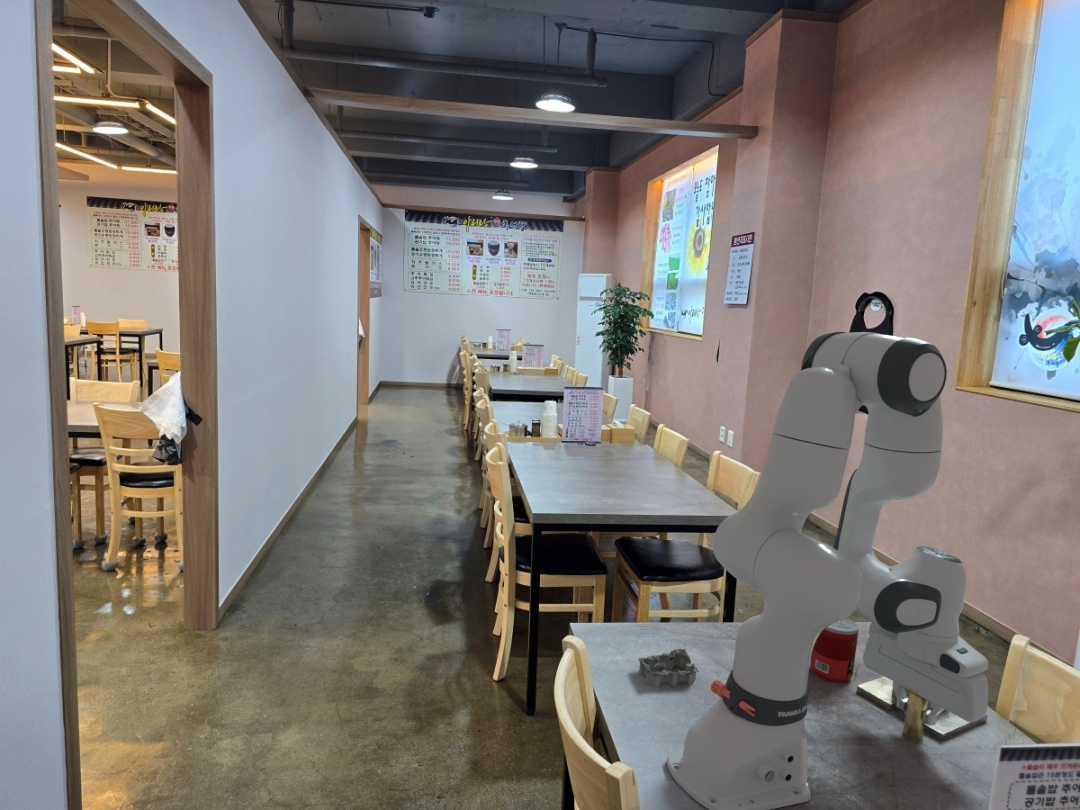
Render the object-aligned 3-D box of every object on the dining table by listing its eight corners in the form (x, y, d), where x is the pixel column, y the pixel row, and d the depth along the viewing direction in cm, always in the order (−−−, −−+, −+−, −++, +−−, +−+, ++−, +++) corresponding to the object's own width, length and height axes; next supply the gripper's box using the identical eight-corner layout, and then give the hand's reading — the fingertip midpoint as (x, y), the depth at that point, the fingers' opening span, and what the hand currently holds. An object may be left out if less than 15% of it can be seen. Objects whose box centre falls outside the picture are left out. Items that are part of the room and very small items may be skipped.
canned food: (856, 686, 134) (863, 634, 132) (813, 680, 136) (819, 628, 134) (847, 666, 142) (853, 616, 140) (806, 660, 143) (812, 611, 141)
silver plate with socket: (941, 741, 118) (945, 714, 117) (856, 691, 132) (859, 667, 132) (986, 720, 125) (990, 695, 124) (901, 675, 139) (904, 652, 138)
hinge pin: (916, 743, 117) (923, 695, 116) (896, 731, 120) (902, 683, 119) (930, 738, 119) (937, 689, 117) (909, 725, 122) (915, 678, 121)
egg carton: (685, 666, 139) (687, 647, 138) (700, 687, 131) (702, 667, 131) (635, 668, 137) (636, 648, 136) (647, 689, 130) (649, 669, 129)
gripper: (860, 618, 124) (851, 688, 126) (977, 674, 107) (964, 755, 109) (882, 612, 127) (873, 681, 129) (999, 665, 110) (986, 744, 112)
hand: (915, 715), depth 119 cm, fingers closed on hinge pin, 3 cm apart
